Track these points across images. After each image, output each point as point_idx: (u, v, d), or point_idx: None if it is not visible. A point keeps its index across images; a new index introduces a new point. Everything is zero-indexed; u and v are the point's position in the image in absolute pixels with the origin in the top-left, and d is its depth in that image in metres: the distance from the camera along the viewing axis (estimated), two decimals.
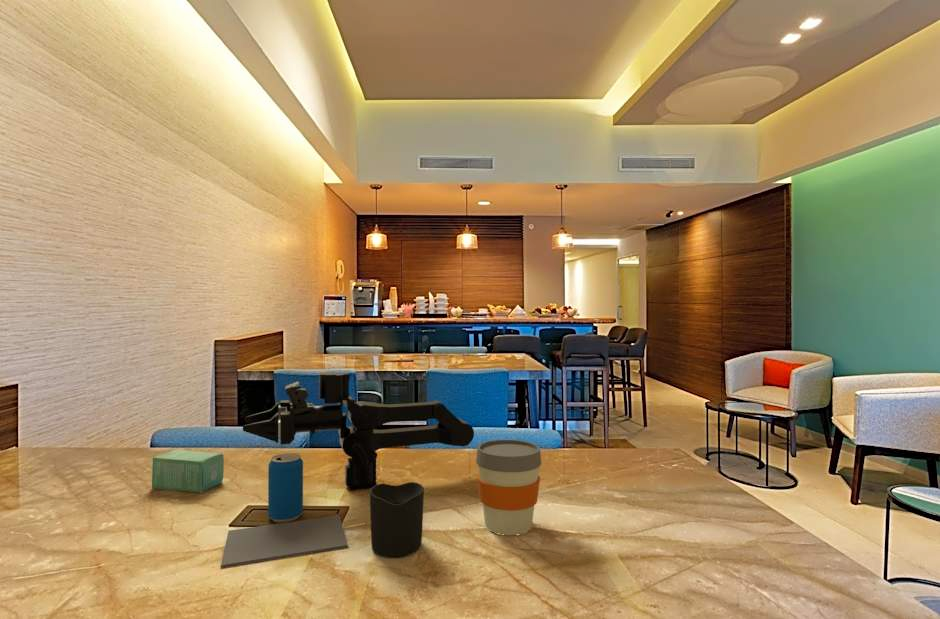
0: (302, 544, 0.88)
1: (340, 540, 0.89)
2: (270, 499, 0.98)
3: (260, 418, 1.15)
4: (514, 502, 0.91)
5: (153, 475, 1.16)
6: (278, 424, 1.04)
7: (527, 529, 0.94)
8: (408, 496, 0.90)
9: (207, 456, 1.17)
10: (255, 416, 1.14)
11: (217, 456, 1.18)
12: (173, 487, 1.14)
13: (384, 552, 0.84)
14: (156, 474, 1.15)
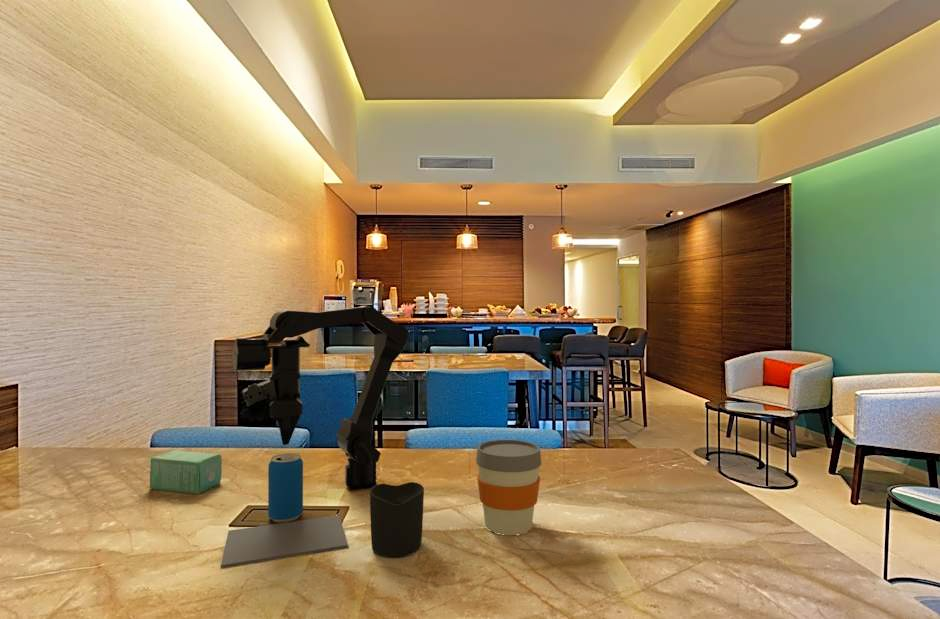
0: (302, 544, 0.88)
1: (340, 540, 0.89)
2: (270, 499, 0.98)
3: None
4: (514, 502, 0.91)
5: (151, 475, 1.15)
6: None
7: (527, 529, 0.94)
8: (408, 496, 0.90)
9: (205, 457, 1.16)
10: None
11: (215, 457, 1.18)
12: (170, 487, 1.14)
13: (384, 552, 0.84)
14: (154, 474, 1.15)
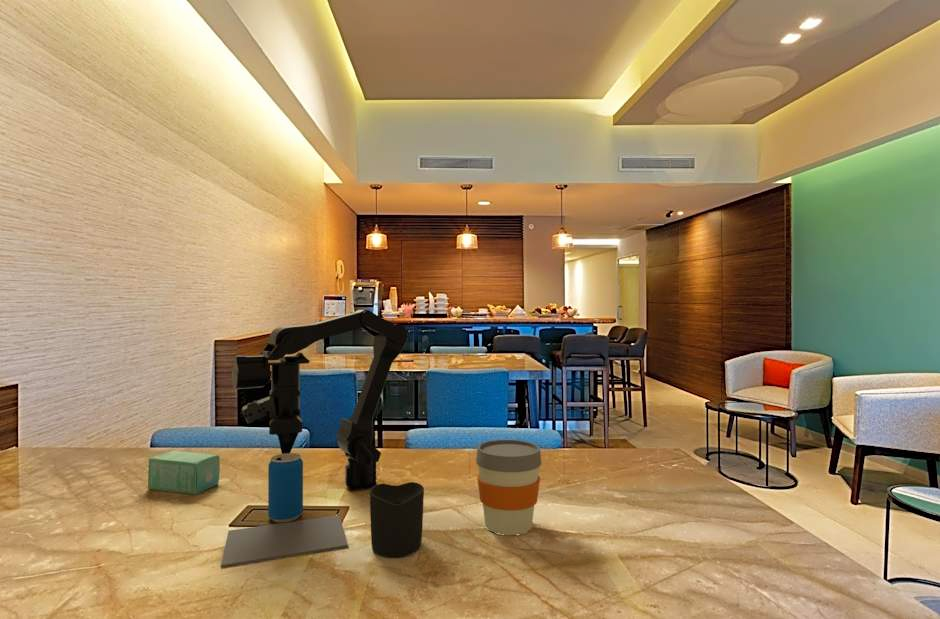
0: (302, 544, 0.88)
1: (340, 540, 0.89)
2: (270, 499, 0.98)
3: None
4: (514, 502, 0.91)
5: (149, 476, 1.15)
6: None
7: (527, 529, 0.94)
8: (408, 496, 0.90)
9: (202, 457, 1.16)
10: None
11: (213, 457, 1.17)
12: (168, 488, 1.14)
13: (384, 552, 0.84)
14: (152, 475, 1.15)
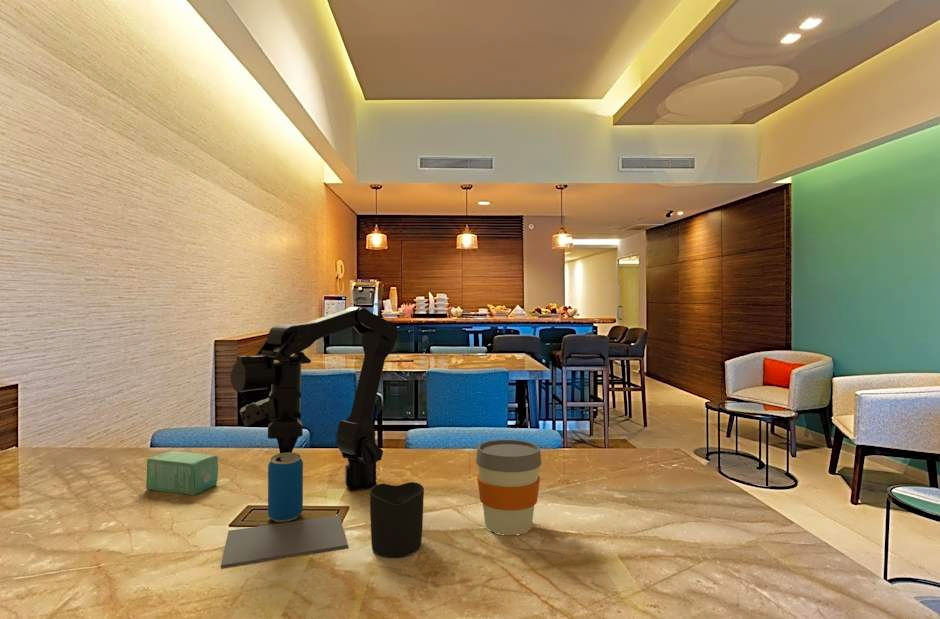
0: (302, 544, 0.88)
1: (340, 540, 0.89)
2: (270, 499, 0.97)
3: None
4: (514, 502, 0.91)
5: (147, 476, 1.15)
6: None
7: (527, 529, 0.94)
8: (408, 496, 0.90)
9: (200, 458, 1.15)
10: (282, 452, 1.03)
11: (211, 458, 1.17)
12: (166, 488, 1.13)
13: (384, 552, 0.84)
14: (150, 475, 1.14)
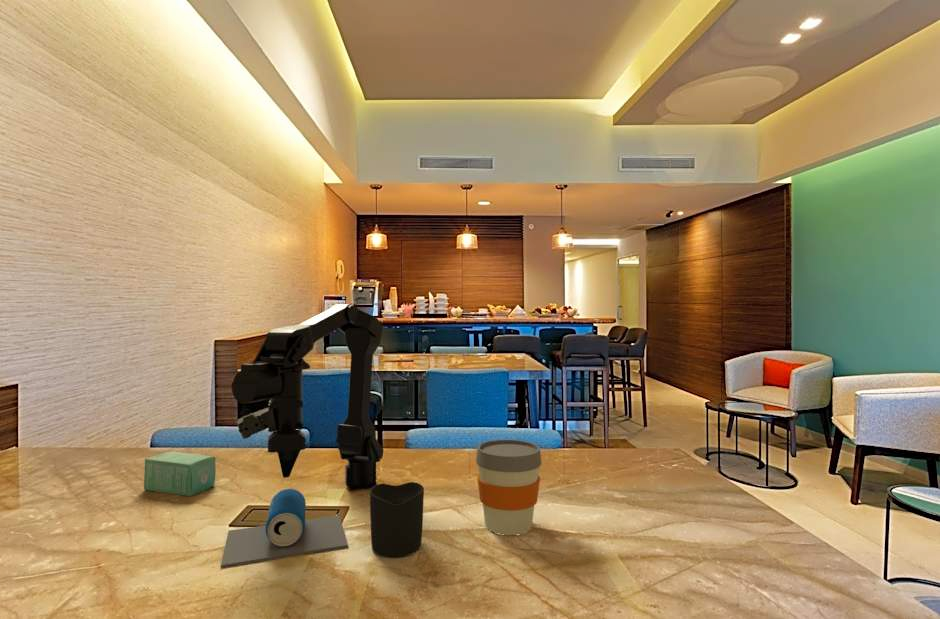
0: (302, 544, 0.88)
1: (340, 540, 0.89)
2: None
3: None
4: (514, 502, 0.91)
5: (145, 477, 1.14)
6: None
7: (527, 529, 0.94)
8: (408, 496, 0.90)
9: (198, 459, 1.15)
10: None
11: (208, 459, 1.16)
12: (163, 489, 1.13)
13: (384, 552, 0.84)
14: (148, 476, 1.14)
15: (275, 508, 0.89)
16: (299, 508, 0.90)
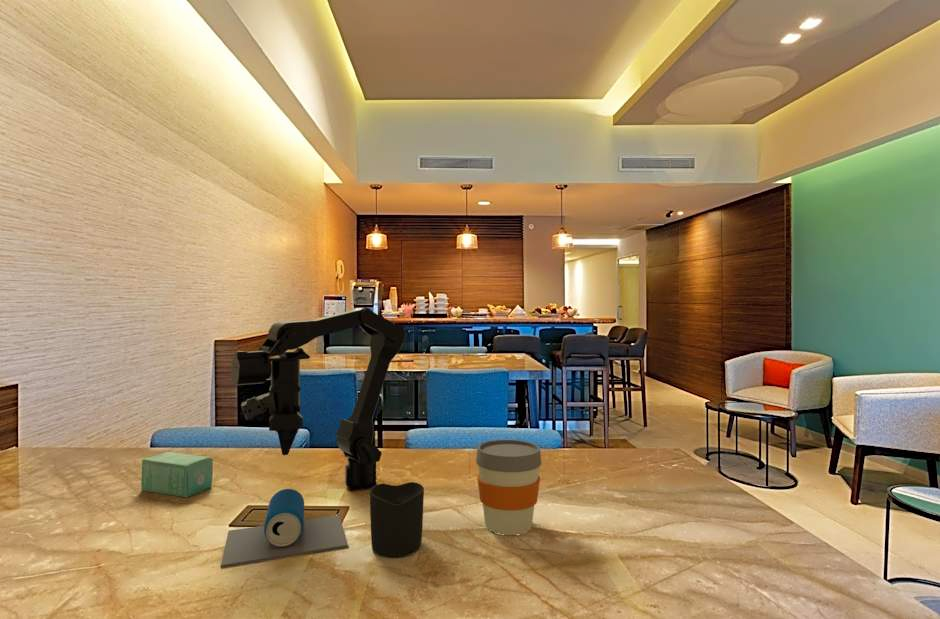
0: (302, 544, 0.88)
1: (340, 540, 0.89)
2: None
3: None
4: (514, 502, 0.91)
5: (142, 477, 1.14)
6: None
7: (527, 529, 0.94)
8: (408, 496, 0.90)
9: (194, 460, 1.14)
10: None
11: (205, 460, 1.15)
12: (160, 490, 1.12)
13: (384, 552, 0.84)
14: (145, 476, 1.14)
15: (272, 509, 0.88)
16: (297, 507, 0.90)
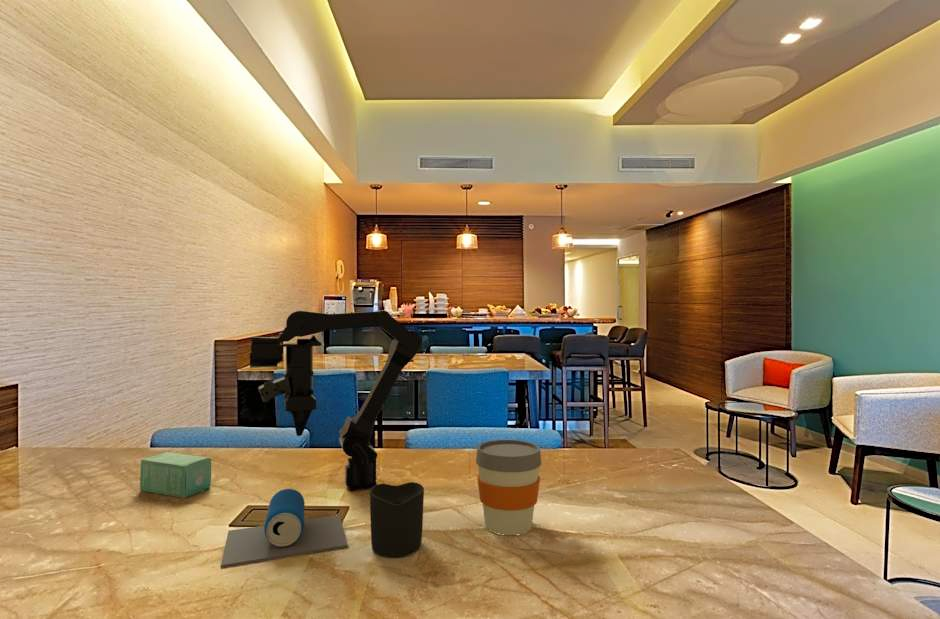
0: (302, 544, 0.88)
1: (340, 540, 0.89)
2: None
3: None
4: (514, 502, 0.91)
5: (141, 477, 1.14)
6: None
7: (527, 529, 0.94)
8: (408, 496, 0.90)
9: (193, 460, 1.14)
10: None
11: (203, 460, 1.15)
12: (158, 490, 1.12)
13: (384, 552, 0.84)
14: (144, 477, 1.13)
15: (273, 509, 0.88)
16: (297, 507, 0.90)
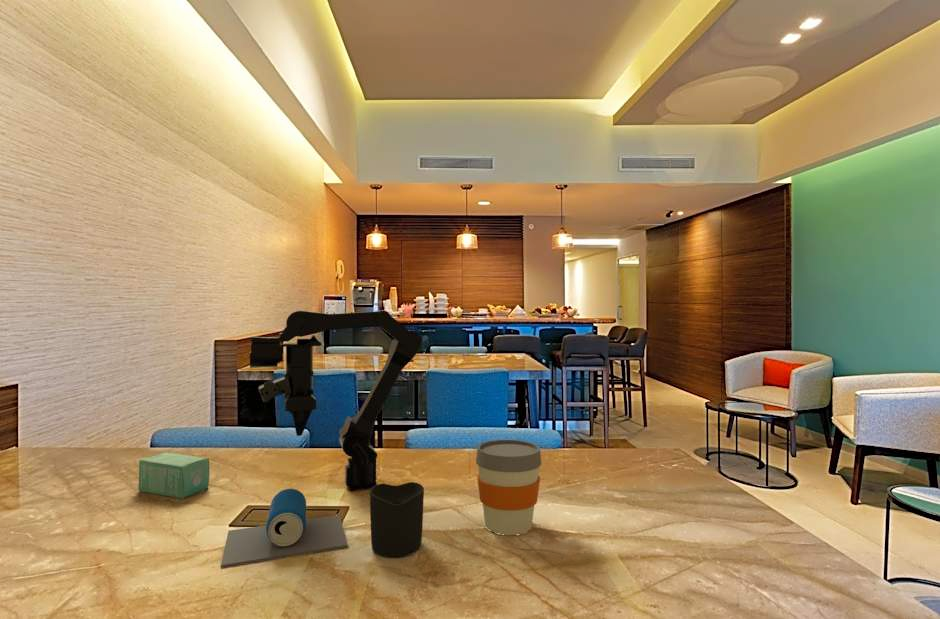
0: (302, 544, 0.88)
1: (340, 540, 0.89)
2: None
3: None
4: (514, 502, 0.91)
5: (139, 478, 1.14)
6: None
7: (527, 529, 0.94)
8: (408, 496, 0.90)
9: (191, 461, 1.13)
10: None
11: (201, 461, 1.14)
12: (156, 491, 1.12)
13: (384, 552, 0.84)
14: (142, 477, 1.13)
15: (276, 507, 0.89)
16: (300, 508, 0.90)
